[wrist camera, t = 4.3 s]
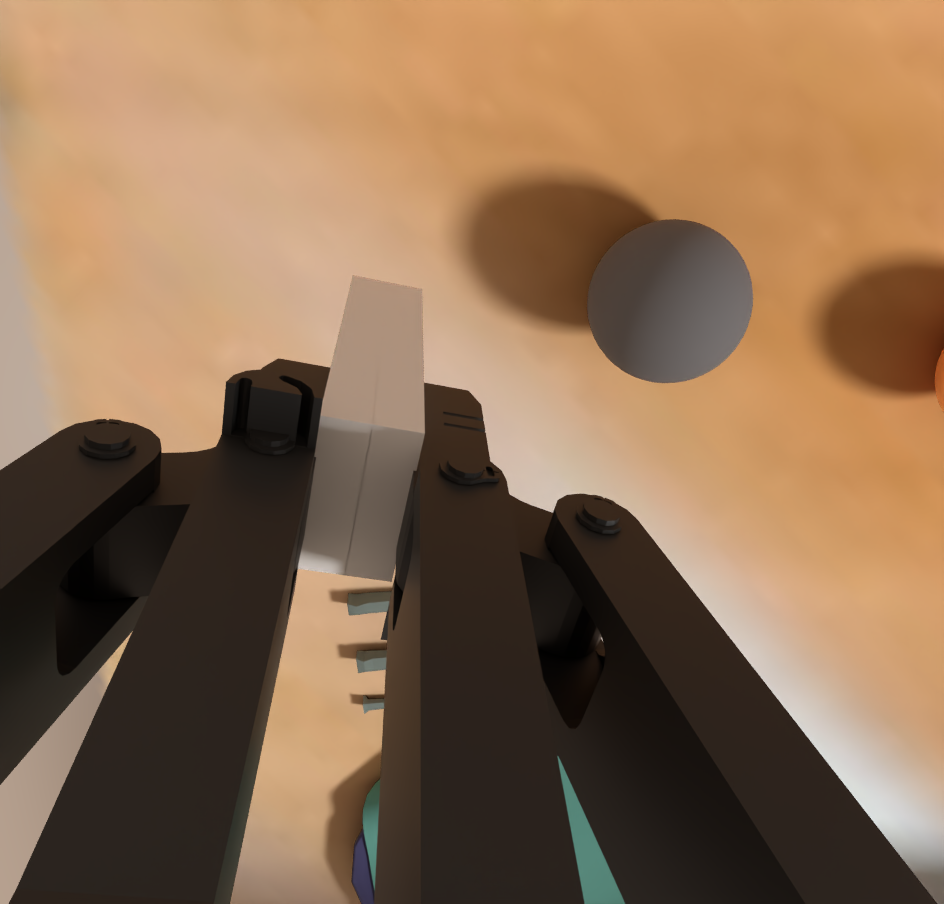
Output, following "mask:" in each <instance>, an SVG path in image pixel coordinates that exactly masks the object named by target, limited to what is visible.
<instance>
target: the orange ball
mask: <svg viewBox="0 0 944 904" xmlns="http://www.w3.org/2000/svg"><path fill="white" fill-rule="evenodd" d="M935 389H936V396H937V399H938V402H939V404H940V407H941V409H942V410H943V412H944V349H943V350H942V352H941V355H940V357H939V359H938V363H937V367H936V372H935Z"/></svg>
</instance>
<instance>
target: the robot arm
mask: <svg viewBox="0 0 944 904" xmlns="http://www.w3.org/2000/svg"><path fill="white" fill-rule="evenodd" d="M395 564H396V572H395V579H394V584H393V588H392V592H391V597H390V601H389V606H388V610H387V615H386V619H385V623H384V628H383V632H382V637H381V639H382V640H387V657H386V677H385V697H384V717H383V736H382V756H381V776H380V795H379V815H378V835H377V854H376V874H375V894H374V904H585V903H584V897H583V892H582V887H581V881H580V876H579V870H578V865H577V860H576V854H575V849H574V843H573V838H572V832H571V827H570V822H569V816H568V811H567V805H566V800H565V795H564V789H563V784H562V778H561V773H560V768H559V762H558V757H557V754H558V756H559V759H560V761H561V763H562V765H563V767H564V770H565V772H566V774H567V776H568V778H569V781H570V783H571V785H572V787H573V790H574V792H575V794H576V796H577V798H578V801H579V803H580V805H581V807H582V809H583V812H584V814H585V816H586V818H587V820H588V823H589V825H590V827H591V829H592V831H593V834H594V836H595V838H596V840H597V842H598V845H599V847H600V849H601V851H602V854H603V856H604V858H605V860H606V862H607V865H608V867H609V869H610V871H611V873H612V876H613V878H614V880H615V882H616V884H617V887H618V889H619V891H620V893H621V895H622V898H623V900H624V902H625V904H937V903H936V902H935V900H934V899H933V898H932V896H931V895H930V894H929V893H928V891H927V890H926V889H925V887H924V886H923V885H922V884H921V882H920V881H919V880H918V878H917V877H916V876H915V875H914V873H913V872H912V871H911V870H910V868H909V867H908V866H907V864H906V863H905V862H904V861H903V859H902V858H901V857H900V855H899V854H898V853H897V852H896V850H895V849H894V848H893V846H892V845H891V844H890V843H889V841H888V840H887V839H886V837H885V836H884V835H883V834H882V832H881V831H880V830H879V829H878V827H877V826H876V825H875V823H874V822H873V821H872V820H871V818H870V817H869V816H868V814H867V813H866V812H865V811H864V809H863V808H862V807H861V805H860V804H859V803H858V802H857V800H856V799H855V798H854V796H853V795H852V794H851V793H850V791H849V790H848V789H847V788H846V786H845V785H844V784H843V782H842V781H841V780H840V779H839V777H838V776H837V775H836V773H835V772H834V771H833V770H832V768H831V767H830V766H829V764H828V763H827V762H826V761H825V759H824V758H823V757H822V755H821V754H820V753H819V752H818V750H817V749H816V748H815V747H814V745H813V744H812V743H811V741H810V740H809V739H808V738H807V736H806V735H805V734H804V732H803V731H802V730H801V729H800V727H799V726H798V725H797V723H796V722H795V721H794V720H793V718H792V717H791V716H790V714H789V713H788V712H787V711H786V709H785V708H784V707H783V705H782V704H781V703H780V702H779V700H778V699H777V698H776V697H775V695H774V694H773V693H772V691H771V690H770V689H769V688H768V686H767V685H766V684H765V682H764V681H763V680H762V679H761V677H760V676H759V675H758V673H757V672H756V671H755V670H754V668H753V667H752V666H751V664H750V663H749V662H748V661H747V659H746V658H745V657H744V656H743V654H742V653H741V652H740V650H739V649H738V648H737V647H736V645H735V644H734V643H733V641H732V640H731V639H730V638H729V636H728V635H727V634H726V632H725V631H724V630H723V629H722V627H721V626H720V625H719V623H718V622H717V621H716V620H715V618H714V617H713V616H712V615H711V613H710V612H709V611H708V609H707V608H706V607H705V606H704V604H703V603H702V602H701V600H700V599H699V598H698V597H697V595H696V594H695V593H694V591H693V590H692V589H691V588H690V586H689V585H688V584H687V582H686V581H685V580H684V579H683V577H682V576H681V575H680V574H679V572H678V571H677V570H676V568H675V567H674V566H673V565H672V563H671V562H670V561H669V559H668V558H667V557H666V556H665V554H664V553H663V552H662V550H661V549H660V548H659V547H658V545H657V544H656V543H655V541H654V540H653V539H652V538H651V536H650V535H649V534H648V533H647V531H646V530H645V529H644V527H643V526H642V525H641V524H640V522H639V521H638V520H637V519H636V518H635V517H634V516H633V515H632V514H631V513H630V512H629V511H628V510H626V509H625V508H623V507H621V506H619V505H618V504H616V503H615V502H614V501H612V500H609V499H607V498H605V499H604V498H603V497H601V496H597V495H587V494H573V495H566V496H564V497H563V498H561V499H559V500H558V501H557V504H556V506H555V509H554V512H553V513H551V512H549V511H546V510H543V509H540V508H537V507H534V506H532V505H529V504H527V503H524V502H522V501H520V500H518V499H516V498H515V497H513V496H511V495H510V494H509V492H508V486H507V481H506V478H505V476H504V474H503V473H502V471H501V470H500V469H499V468H498V467H496V466H495V465H494V464H493V463H492V462H490V457H489V451H488V445H487V438H486V433H485V426H484V421H483V414H482V408H481V404H480V403H479V402H478V401H477V400H476V399H475V398H474V396H473V395H472V394H471V393H470V392H469V391H467V390H462V389H456V388H451V387H445V386H440V385H434V384H429V383H424V360H423V307H422V289H418V288H413V287H408V286H403V285H399V284H394V283H389V282H384V281H379V280H374V279H369V278H364V277H359V276H354V275H353V277H352V281H351V285H350V289H349V294H348V298H347V302H346V306H345V310H344V314H343V319H342V323H341V327H340V331H339V335H338V339H337V344H336V348H335V352H334V356H333V360H332V364H331V368H329V367H323V366H318V365H312V364H307V363H301V362H296V361H290V360H284V359H277V360H275V361H273V362H272V363H270V364H268V365H266V366H265V367H263V368H262V369H261V370H251V371H245V372H242V373H239V374H236V375H233V376H232V377H231V378H230V379H229V380H228V381H227V382H226V390H225V402H224V414H223V427H222V435H221V437H220V439H219V442H218V444H217V446H216V447H214V448H211V449H207V450H202V451H198V452H185V453H161V443H160V439H159V438H158V437H157V436H156V435H155V434H154V433H153V432H152V431H151V430H149V429H147V428H144V427H142V426H140V425H137V424H134V423H129V422H123V421H121V420H113V419H109V420H106V419H98V420H94V421H88V422H83V423H77V424H74V425H72V426H70V427H68V428H65V429H63V430H61V431H59V432H58V433H56V434H55V435H53V436H52V437H50V438H49V439H47V440H46V441H44V442H43V443H41V444H40V445H38V446H36V447H35V448H33V449H32V450H30V451H29V452H28V453H26V454H24V455H23V456H21V457H20V458H18V459H17V460H15V461H14V462H12V463H11V464H9V465H8V466H6V467H4V468H3V469H1V470H0V785H1V783H2V782H3V781H4V780H5V779H6V778H7V776H8V775H9V774H10V773H11V772H12V771H13V769H14V768H15V767H16V766H17V765H18V764H19V762H20V761H21V760H22V759H23V758H24V757H25V755H26V754H27V753H28V752H29V751H30V750H31V748H32V747H33V746H34V745H35V744H36V743H37V741H38V740H39V739H40V738H41V737H42V735H43V734H44V733H45V732H46V731H47V729H48V728H50V726H51V725H52V724H53V723H54V722H55V721H56V719H57V718H58V717H59V716H60V715H61V713H62V712H63V711H64V710H65V709H66V708H67V707H68V705H69V704H70V703H71V702H72V701H73V699H74V698H75V697H76V696H77V695H78V694H79V693H80V691H81V690H82V689H83V688H84V687H85V686H86V684H87V683H88V682H89V681H90V680H91V679H92V677H93V676H94V675H95V674H96V673H97V672H98V670H99V669H100V668H101V667H102V666H103V665H104V663H105V662H106V661H107V660H108V659H109V658H110V656H111V655H112V654H113V653H114V652H115V651H116V649H117V648H118V647H119V646H120V645H121V644H122V643H123V641H124V640H125V639H126V638H127V637H128V636H129V634H130V633H131V632H132V631H133V632H132V634H131V636H130V639H129V641H128V643H127V645H126V647H125V650H124V652H123V654H122V656H121V659H120V661H119V663H118V665H117V667H116V670H115V672H114V674H113V676H112V678H111V681H110V683H109V685H108V687H107V690H106V692H105V694H104V696H103V698H102V701H101V703H100V705H99V707H98V709H97V712H96V714H95V716H94V718H93V721H92V723H91V725H90V727H89V729H88V732H87V734H86V736H85V738H84V740H83V743H82V745H81V747H80V749H79V751H78V754H77V756H76V758H75V760H74V763H73V765H72V767H71V769H70V772H69V774H68V776H67V778H66V780H65V783H64V785H63V787H62V789H61V791H60V794H59V796H58V798H57V800H56V802H55V805H54V807H53V809H52V811H51V813H50V816H49V818H48V820H47V822H46V825H45V827H44V829H43V831H42V833H41V836H40V838H39V840H38V842H37V844H36V847H35V849H34V851H33V853H32V856H31V858H30V860H29V862H28V864H27V867H26V869H25V871H24V873H23V876H22V878H21V880H20V882H19V885H18V886H17V889H16V891H15V893H14V895H13V897H12V898H11V900H10V902H9V904H230V900H231V896H232V891H233V886H234V881H235V876H236V871H237V866H238V862H239V857H240V852H241V847H242V842H243V837H244V833H245V828H246V823H247V818H248V813H249V808H250V803H251V799H252V794H253V789H254V784H255V779H256V774H257V769H258V765H259V760H260V755H261V750H262V745H263V740H264V735H265V731H266V726H267V721H268V716H269V711H270V706H271V702H272V697H273V692H274V687H275V682H276V677H277V672H278V668H279V663H280V658H281V653H282V648H283V643H284V638H285V634H286V629H287V624H288V619H289V614H290V609H291V604H292V600H293V595H294V590H295V583H296V576H297V570H298V569H303V570H311V571H318V572H325V573H332V574H339V575H347V576H354V577H361V578H368V579H376V580H383V581H390V582H392V578H393V573H394V569H395ZM601 637H602V639H603V641H602V640H601Z"/></svg>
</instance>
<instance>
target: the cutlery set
mask: <svg viewBox="0 0 944 904" xmlns="http://www.w3.org/2000/svg"><path fill="white" fill-rule="evenodd" d="M391 592H392V591H387V592H371V593H361V594H352V593H348V602H347V606H348V612H349V615H360V614H367V613H377V612H387V610H388V606H389V601H390V597H391ZM386 657H387V650H372V651H357V657H356V661H357V668H358V673H362V672H368V671H378V670H386ZM363 708H364V714H365V713H366V712H367V711H369V710H376V709H384V699H368V698H367V697H366V696H363ZM557 757H558V762H559V768H560V773H561V778H562V784H563V789H564V795H565V800H566V805H567V811H568V816H569V822H570V827H571V832H572V838H573V843H574V849H575V854H576V860H577V865H578V870H579V876H580V881H581V887H582V892H583V897H584V903H585V904H625V902H624V900H623V898H622V895H621V893H620V891H619V889H618V887H617V884H616V882H615V880H614V878H613V876H612V873H611V871H610V869H609V867H608V865H607V862H606V860H605V858H604V856H603V854H602V851H601V849H600V847H599V845H598V842H597V840H596V838H595V836H594V834H593V831H592V829H591V827H590V825H589V823H588V820H587V818H586V816H585V814H584V812H583V809H582V807H581V805H580V803H579V801H578V798H577V796H576V794H575V792H574V790H573V787H572V785H571V783H570V781H569V778H568V776H567V774H566V772H565V770H564V767H563V765H562V763H561V761H560V759H559V756H558V754H557ZM379 795H380V779H379V780H378V781H377V782H376V783H375V785H374V786H373V787H372V789H371V790H370V792H369V793H368V794H367V797H366V801H365V804H364V808H363V829H362V831H361V833H360V834H359V836H358V838H357V839H356V841H355V845H354V854H353V868H352V884H353V886H354V888H355V891H356V893H357V895H358V897H359V900H360V902H361V904H374V894H375V874H376V854H377V835H378V815H379Z"/></svg>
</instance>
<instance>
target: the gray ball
mask: <svg viewBox="0 0 944 904" xmlns="http://www.w3.org/2000/svg"><path fill="white" fill-rule="evenodd" d="M752 306H753V291H752V282H751V278H750V274H749V271H748V269H747V267H746V264H745V262H744V260H743V258H742V257H741V255H740V254H739V252H738V251H737V249H736V248H735V247H734V246H733V245H732V244H731V243H730V242H729V241H728V240H727V239H726V238H725V237H724V236H722V235H721V234H720V233H718V232H716V231H715V230H713V229H711V228H709V227H707V226H704V225H702V224H700V223H696V222H692V221H686V220H676V219H674V220H661V221H655V222H652V223H648V224H645V225H643V226H640V227H638V228H636V229H634V230H632V231H630V232H629V233H627V234H625V235H624V236H623V237H621V238H620V239H619V240H618V241H616V242H615V243H614V244H613V245H612V246H611V247H610V248H609V250H608V251H607V252H606V253H605V254H604V256H603V257H602V259H601V260H600V262H599V263H598V265H597V267H596V269H595V271H594V273H593V276H592V279H591V282H590V286H589V291H588V300H587V311H588V319H589V324H590V328H591V331H592V333H593V336H594V338H595V340H596V342H597V344H598V346H599V347H600V349H601V350H602V351H603V353H604V354H605V355H606V357H607V358H608V359H609V360H610V361H611V362H612V363H613V364H614V365H616V366H617V367H619V368H620V369H621V370H623V371H624V372H626V373H628V374H630V375H632V376H634V377H637V378H639V379H642V380H646V381H651V382H656V383H675V382H682V381H687V380H690V379H694V378H696V377H699V376H701V375H704V374H705V373H707V372H709V371H711V370H713V369H714V368H715V367H717V366H718V365H720V364H721V363H722V362H723V361H724V360H726V359H727V358H728V356H729V355H730V354H731V353H732V352H733V351H734V350H735V348H736V347H737V346H738V344H739V343H740V341H741V339H742V338H743V336H744V334H745V331H746V329H747V327H748V324H749V320H750V317H751V312H752Z"/></svg>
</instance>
